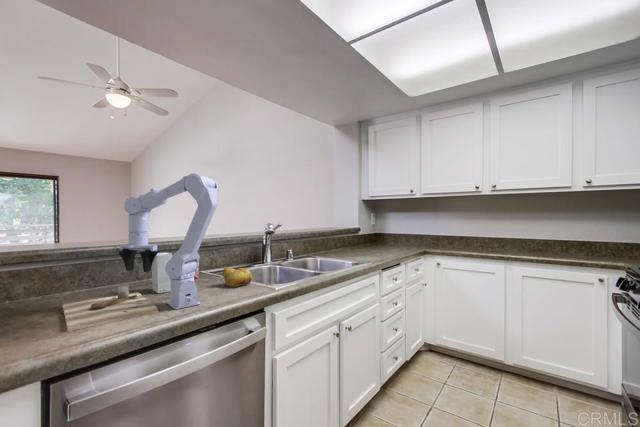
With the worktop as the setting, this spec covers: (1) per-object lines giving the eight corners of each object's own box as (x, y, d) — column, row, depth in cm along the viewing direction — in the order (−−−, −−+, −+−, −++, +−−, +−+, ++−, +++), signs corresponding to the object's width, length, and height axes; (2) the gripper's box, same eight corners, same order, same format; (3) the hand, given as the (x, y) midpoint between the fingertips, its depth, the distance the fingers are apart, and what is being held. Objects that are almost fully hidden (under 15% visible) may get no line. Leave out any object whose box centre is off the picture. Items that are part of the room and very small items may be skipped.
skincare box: (173, 291, 113) (173, 253, 113) (156, 294, 109) (156, 254, 109) (167, 287, 119) (167, 251, 119) (150, 290, 115) (150, 252, 115)
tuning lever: (95, 309, 87) (95, 293, 87) (88, 308, 88) (88, 292, 88) (139, 297, 100) (139, 282, 100) (132, 296, 101) (132, 281, 101)
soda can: (178, 282, 129) (178, 252, 129) (191, 278, 135) (191, 251, 135) (188, 283, 126) (188, 253, 126) (202, 280, 132) (202, 252, 132)
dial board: (158, 312, 89) (158, 308, 89) (67, 331, 74) (67, 326, 74) (137, 295, 108) (137, 291, 108) (62, 307, 93) (62, 303, 93)
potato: (246, 280, 132) (246, 263, 132) (258, 284, 125) (258, 265, 125) (220, 285, 123) (220, 266, 123) (231, 289, 116) (231, 269, 116)
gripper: (111, 232, 99) (111, 272, 99) (145, 233, 95) (145, 274, 95) (130, 231, 106) (130, 268, 106) (162, 231, 102) (162, 270, 102)
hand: (138, 270), depth 101 cm, fingers open, 7 cm apart
